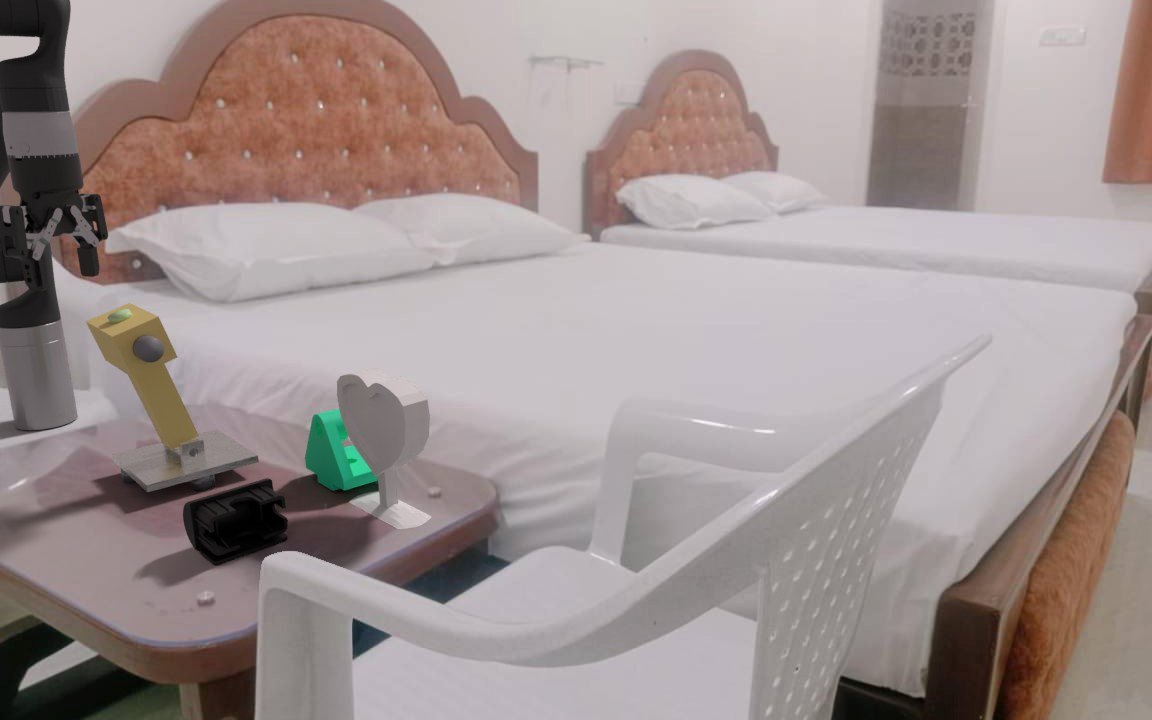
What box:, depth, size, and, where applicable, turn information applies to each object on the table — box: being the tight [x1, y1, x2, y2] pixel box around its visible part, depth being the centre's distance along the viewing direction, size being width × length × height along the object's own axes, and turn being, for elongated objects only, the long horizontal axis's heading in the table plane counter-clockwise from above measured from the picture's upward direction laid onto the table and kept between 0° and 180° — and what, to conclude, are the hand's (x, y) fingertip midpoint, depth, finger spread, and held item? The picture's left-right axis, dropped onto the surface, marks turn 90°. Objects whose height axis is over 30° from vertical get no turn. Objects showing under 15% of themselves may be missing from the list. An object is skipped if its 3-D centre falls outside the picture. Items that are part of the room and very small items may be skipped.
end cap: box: [182, 477, 289, 567], centre depth 106 cm, size 10×7×7 cm
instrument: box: [85, 302, 199, 450], centre depth 122 cm, size 16×6×20 cm, turn 42°
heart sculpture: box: [336, 368, 433, 530], centre depth 113 cm, size 16×5×18 cm, turn 45°
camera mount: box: [304, 408, 378, 491], centre depth 123 cm, size 12×8×10 cm, turn 40°
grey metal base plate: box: [111, 428, 259, 493], centre depth 127 cm, size 15×15×6 cm
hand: (65, 282), depth 112 cm, fingers open, 8 cm apart
